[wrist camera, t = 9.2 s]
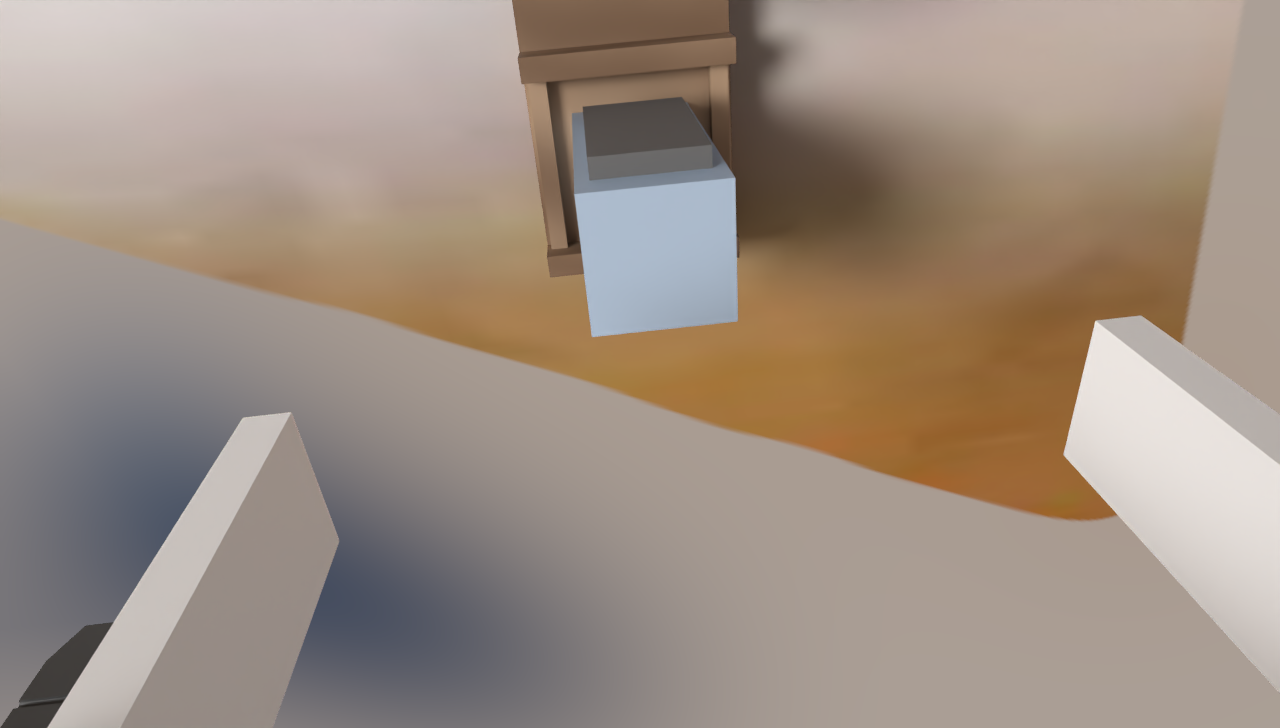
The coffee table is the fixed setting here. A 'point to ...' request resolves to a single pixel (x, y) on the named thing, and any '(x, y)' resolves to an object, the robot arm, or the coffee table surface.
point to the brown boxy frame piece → (615, 83)
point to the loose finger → (653, 218)
